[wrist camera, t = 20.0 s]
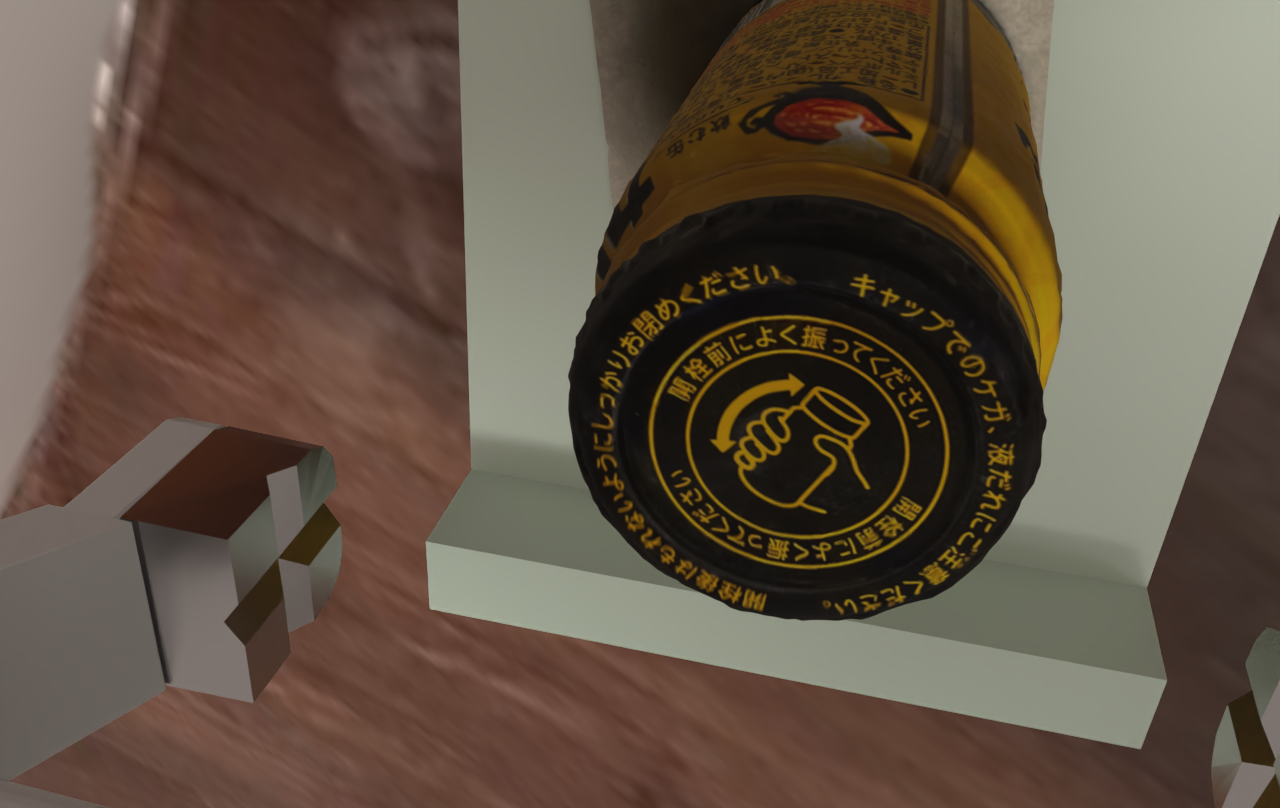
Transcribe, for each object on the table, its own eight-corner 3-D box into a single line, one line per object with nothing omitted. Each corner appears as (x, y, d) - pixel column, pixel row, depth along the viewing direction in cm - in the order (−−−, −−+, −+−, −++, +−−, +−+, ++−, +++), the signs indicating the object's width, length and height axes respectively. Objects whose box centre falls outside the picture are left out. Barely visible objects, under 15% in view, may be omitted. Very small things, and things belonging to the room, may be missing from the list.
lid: (1113, 599, 29) (1140, 749, 25) (498, 489, 32) (429, 609, 28) (1464, -437, 18) (1616, -479, 14) (484, -473, 21) (367, -517, 17)
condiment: (1031, 286, 24) (1091, 717, 14) (623, 283, 26) (410, 656, 16) (1061, -106, 20) (1172, 84, 10) (584, -74, 22) (276, 111, 12)
